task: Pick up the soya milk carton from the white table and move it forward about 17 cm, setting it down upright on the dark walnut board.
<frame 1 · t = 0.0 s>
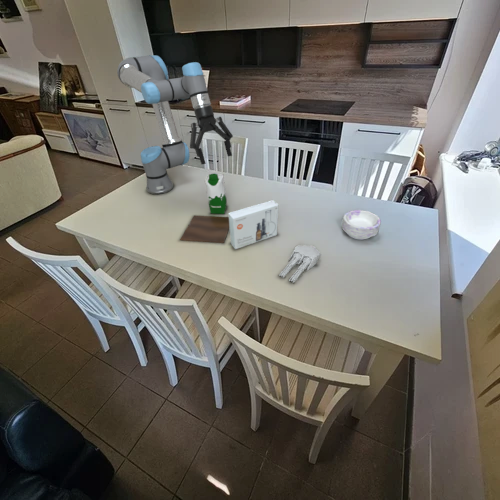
hand: (217, 160, 123), 28 cm above the table, tool tilted 20°, fingers open, 13 cm apart
soya milk: (218, 210, 143), on the table
walnut board: (208, 228, 131), on the table
skincare box: (254, 239, 123), on the table
turret: (299, 266, 108), on the table
paper bowls: (358, 233, 123), on the table
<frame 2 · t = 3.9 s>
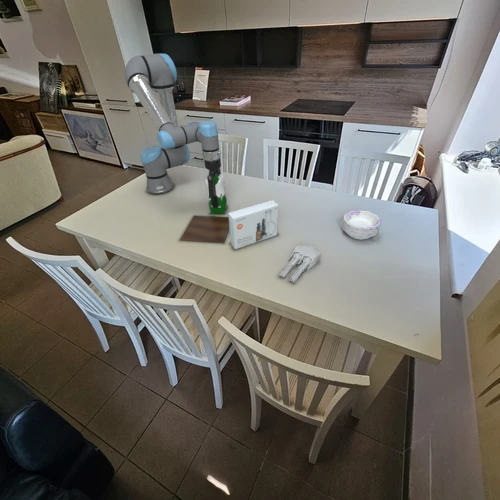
hand: (217, 202, 141), 4 cm above the table, tool pointing down, fingers closed on soya milk, 9 cm apart
soya milk: (218, 210, 143), on the table, touching gripper
everything else where it was.
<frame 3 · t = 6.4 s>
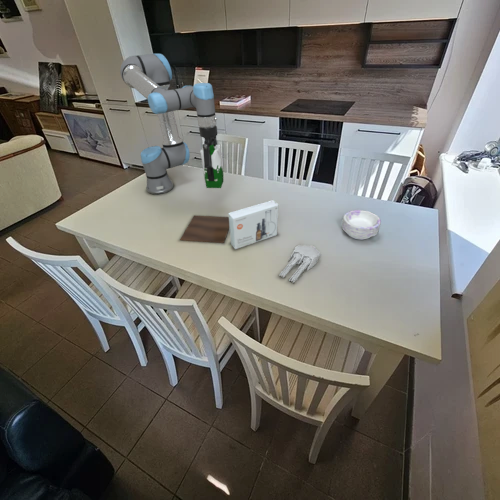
hand: (214, 176, 132), 19 cm above the table, tool pointing down, fingers closed on soya milk, 9 cm apart
soya milk: (215, 185, 135), point 14 cm above the table, touching gripper
everything else where it was.
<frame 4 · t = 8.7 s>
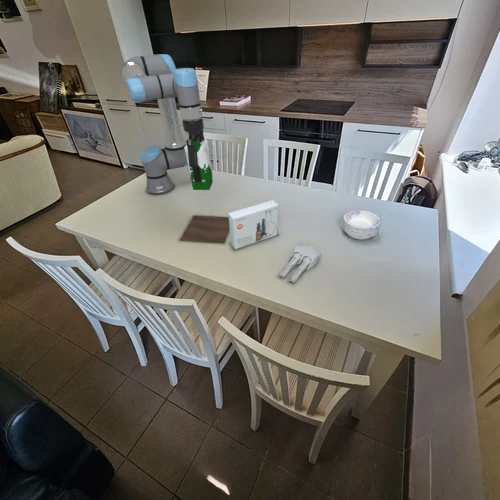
hand: (201, 176, 116), 25 cm above the table, tool pointing down, fingers closed on soya milk, 9 cm apart
soya milk: (203, 186, 119), point 21 cm above the table, touching gripper
everything else where it was.
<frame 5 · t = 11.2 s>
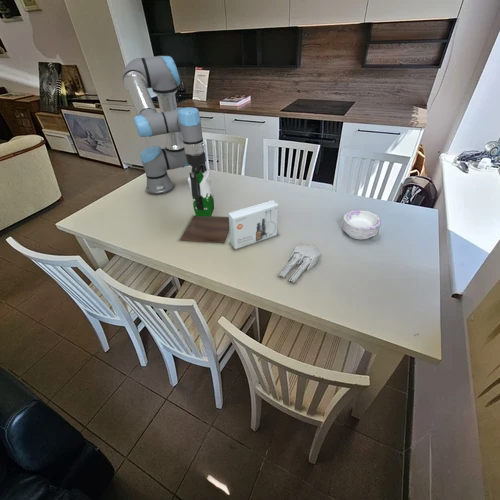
hand: (203, 203, 122), 14 cm above the table, tool pointing down, fingers closed on soya milk, 9 cm apart
soya milk: (205, 212, 125), point 9 cm above the table, touching gripper
everything else where it was.
when the fingers open (5 cm above the table, at t = 13.6 s): soya milk stays where it is, resting on walnut board.
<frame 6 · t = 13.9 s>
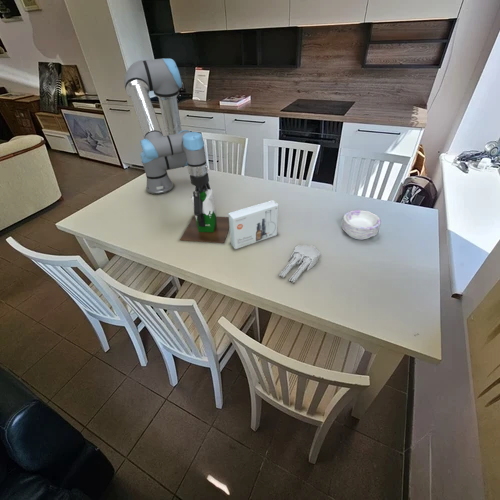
hand: (206, 218, 127), 6 cm above the table, tool pointing down, fingers open, 12 cm apart
soya milk: (208, 228, 130), resting on walnut board
everything else where it was.
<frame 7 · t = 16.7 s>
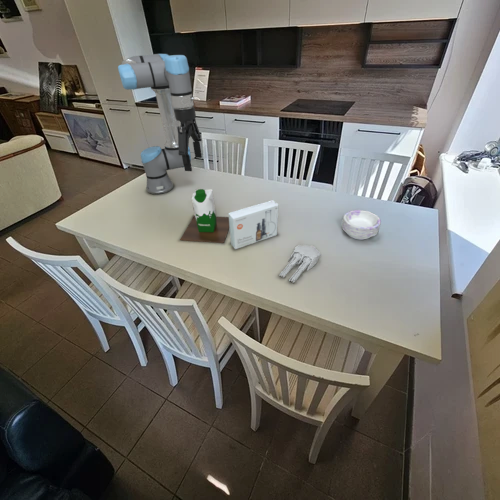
hand: (193, 163, 114), 30 cm above the table, tool pointing down, fingers open, 13 cm apart
nothing on the table moved.
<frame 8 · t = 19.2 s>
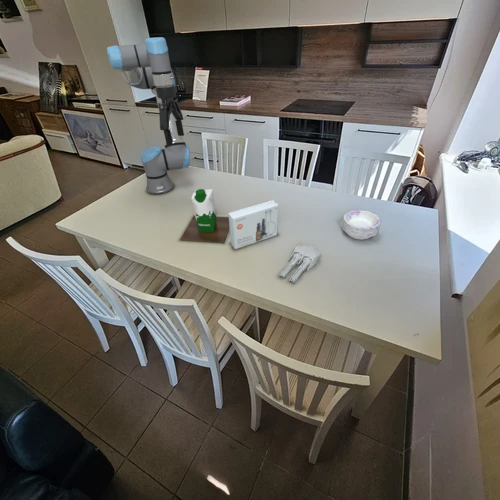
hand: (175, 140, 125), 35 cm above the table, tool pointing down, fingers open, 13 cm apart
nothing on the table moved.
at the end: soya milk inside the target area on the walnut board (0.0 cm from its centre), point 0.4 cm above the walnut board's base; soya milk tilted 0°; the gripper is holding nothing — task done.
